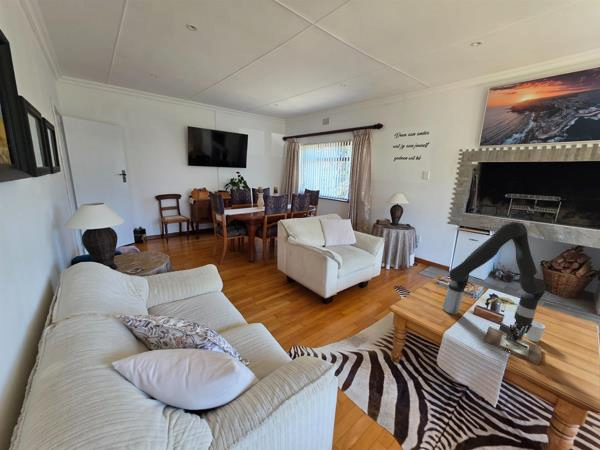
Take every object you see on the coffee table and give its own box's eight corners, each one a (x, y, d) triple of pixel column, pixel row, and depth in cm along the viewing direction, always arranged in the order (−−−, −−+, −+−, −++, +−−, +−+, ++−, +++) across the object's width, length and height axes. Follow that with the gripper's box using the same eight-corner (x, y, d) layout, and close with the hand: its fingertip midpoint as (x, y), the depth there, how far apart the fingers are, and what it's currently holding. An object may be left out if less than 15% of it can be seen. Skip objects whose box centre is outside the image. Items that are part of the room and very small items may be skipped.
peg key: (497, 334, 146) (500, 324, 145) (499, 332, 148) (502, 323, 146) (526, 349, 135) (529, 338, 133) (527, 348, 136) (531, 337, 134)
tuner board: (483, 341, 143) (484, 338, 143) (488, 328, 154) (489, 325, 154) (539, 365, 127) (540, 362, 126) (540, 350, 138) (541, 346, 138)
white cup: (534, 343, 143) (539, 329, 140) (519, 334, 150) (524, 320, 148) (543, 341, 145) (548, 327, 143) (528, 332, 152) (533, 318, 150)
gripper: (527, 308, 140) (518, 333, 144) (508, 310, 137) (500, 336, 141) (542, 315, 133) (533, 342, 137) (522, 318, 130) (514, 346, 134)
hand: (516, 339), depth 139 cm, fingers closed on peg key, 2 cm apart
